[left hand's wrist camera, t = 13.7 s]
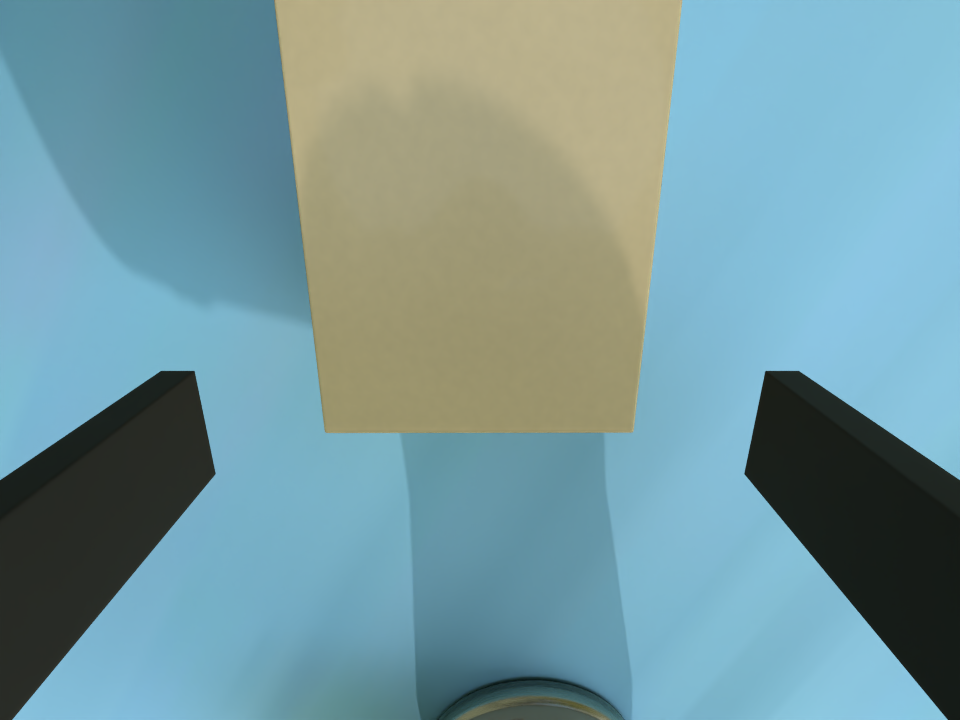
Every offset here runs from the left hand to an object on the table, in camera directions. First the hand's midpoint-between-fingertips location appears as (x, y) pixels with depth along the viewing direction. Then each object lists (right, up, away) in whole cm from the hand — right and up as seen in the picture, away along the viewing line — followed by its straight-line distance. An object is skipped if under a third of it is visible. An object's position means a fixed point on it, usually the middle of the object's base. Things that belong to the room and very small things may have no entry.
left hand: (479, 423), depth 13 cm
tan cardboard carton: (0, +12, +12) cm, 17 cm away
